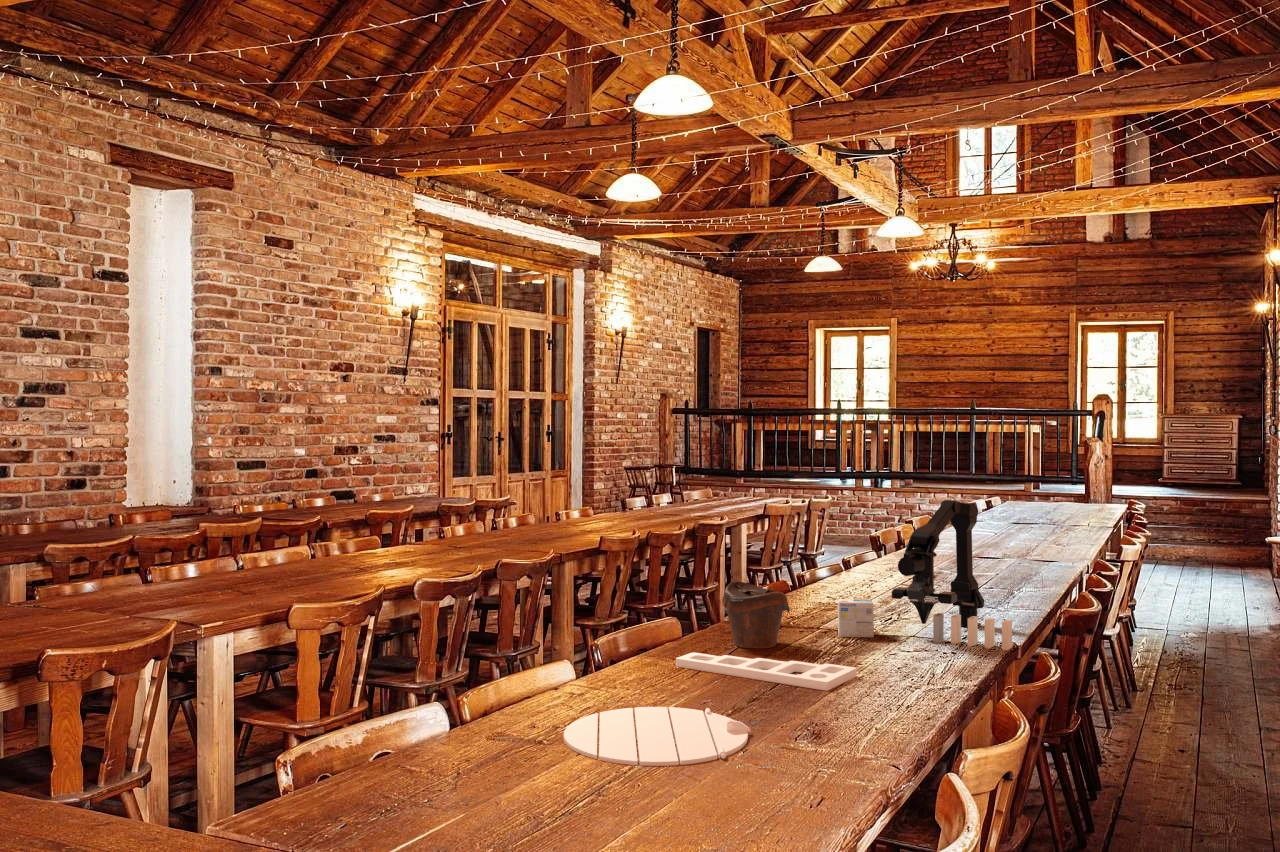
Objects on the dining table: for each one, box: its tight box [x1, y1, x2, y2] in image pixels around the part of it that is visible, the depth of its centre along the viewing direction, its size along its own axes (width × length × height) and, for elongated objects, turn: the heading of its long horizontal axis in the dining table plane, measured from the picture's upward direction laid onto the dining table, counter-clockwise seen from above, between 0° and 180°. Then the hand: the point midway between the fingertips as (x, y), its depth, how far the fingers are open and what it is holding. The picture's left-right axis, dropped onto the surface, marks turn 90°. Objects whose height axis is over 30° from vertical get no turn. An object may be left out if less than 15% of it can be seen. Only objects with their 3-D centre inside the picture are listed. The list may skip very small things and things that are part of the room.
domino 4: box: [984, 617, 996, 649], centre depth 316 cm, size 4×2×8 cm, turn 145°
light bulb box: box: [837, 598, 875, 638], centre depth 332 cm, size 11×7×11 cm, turn 84°
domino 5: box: [1001, 619, 1013, 651], centre depth 313 cm, size 4×2×8 cm, turn 145°
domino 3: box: [967, 616, 979, 647], centre depth 318 cm, size 4×2×8 cm, turn 145°
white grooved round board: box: [563, 706, 752, 767], centre depth 230 cm, size 40×39×3 cm
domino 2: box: [950, 613, 962, 645], centre depth 321 cm, size 4×2×8 cm, turn 145°
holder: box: [675, 652, 858, 692], centre depth 286 cm, size 45×18×3 cm, turn 55°
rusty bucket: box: [721, 581, 791, 650], centre depth 319 cm, size 18×20×18 cm
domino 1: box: [932, 612, 945, 643], centre depth 323 cm, size 4×2×8 cm, turn 145°
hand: (923, 623), depth 327 cm, fingers closed
